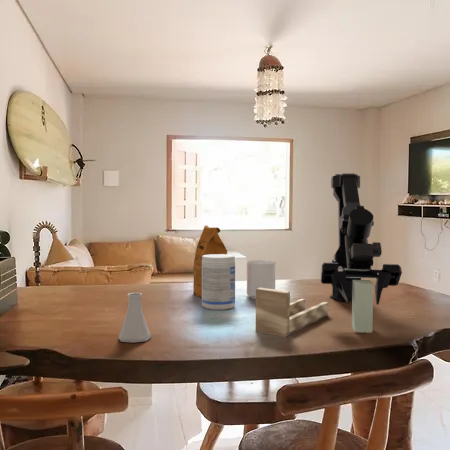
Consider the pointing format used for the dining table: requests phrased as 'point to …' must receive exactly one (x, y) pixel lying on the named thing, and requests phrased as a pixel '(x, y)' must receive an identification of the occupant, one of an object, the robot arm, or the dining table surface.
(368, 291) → the pale green block
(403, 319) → the dining table surface
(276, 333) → the track
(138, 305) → the flask
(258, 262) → the mug
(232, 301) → the supplement tub
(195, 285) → the coffee package
